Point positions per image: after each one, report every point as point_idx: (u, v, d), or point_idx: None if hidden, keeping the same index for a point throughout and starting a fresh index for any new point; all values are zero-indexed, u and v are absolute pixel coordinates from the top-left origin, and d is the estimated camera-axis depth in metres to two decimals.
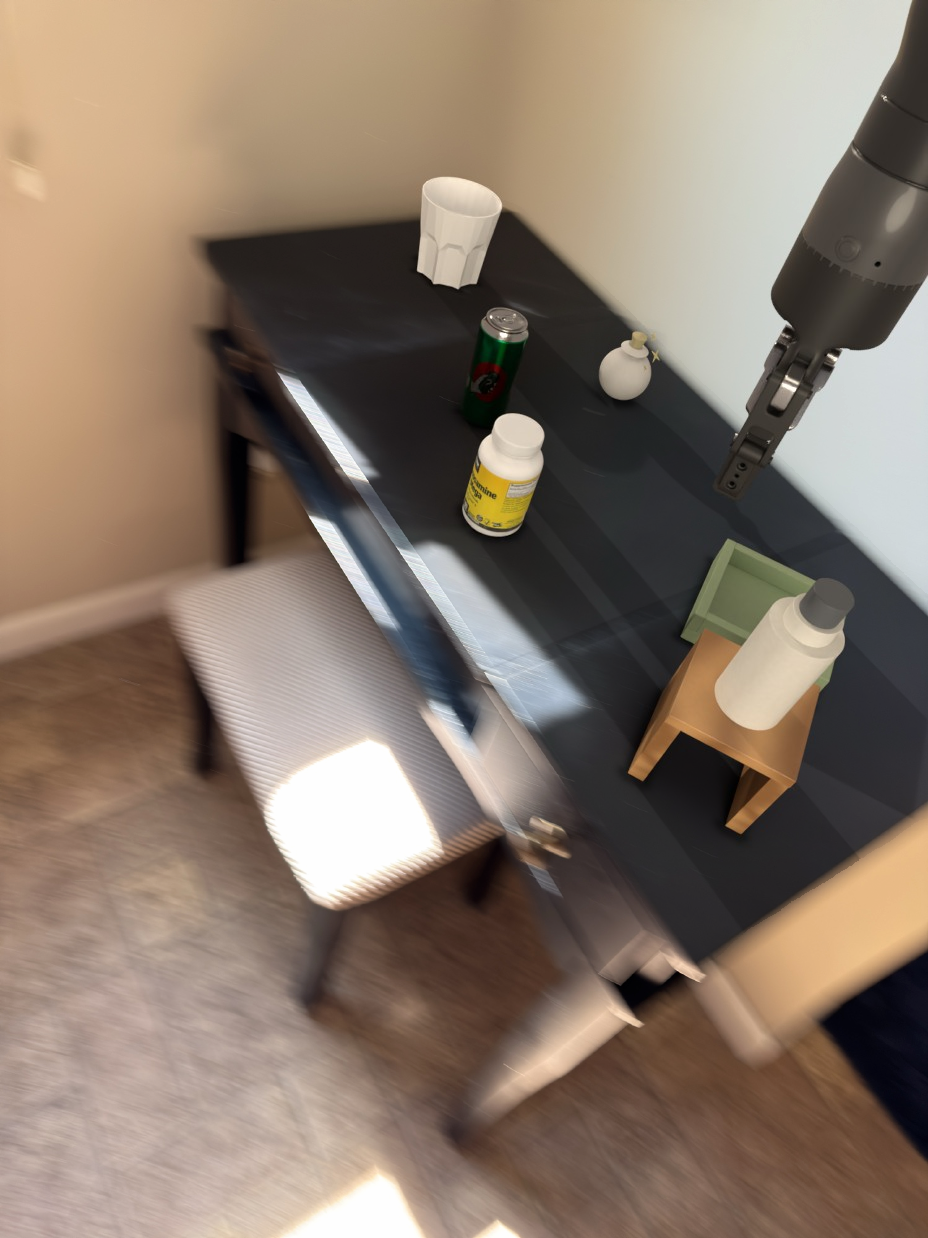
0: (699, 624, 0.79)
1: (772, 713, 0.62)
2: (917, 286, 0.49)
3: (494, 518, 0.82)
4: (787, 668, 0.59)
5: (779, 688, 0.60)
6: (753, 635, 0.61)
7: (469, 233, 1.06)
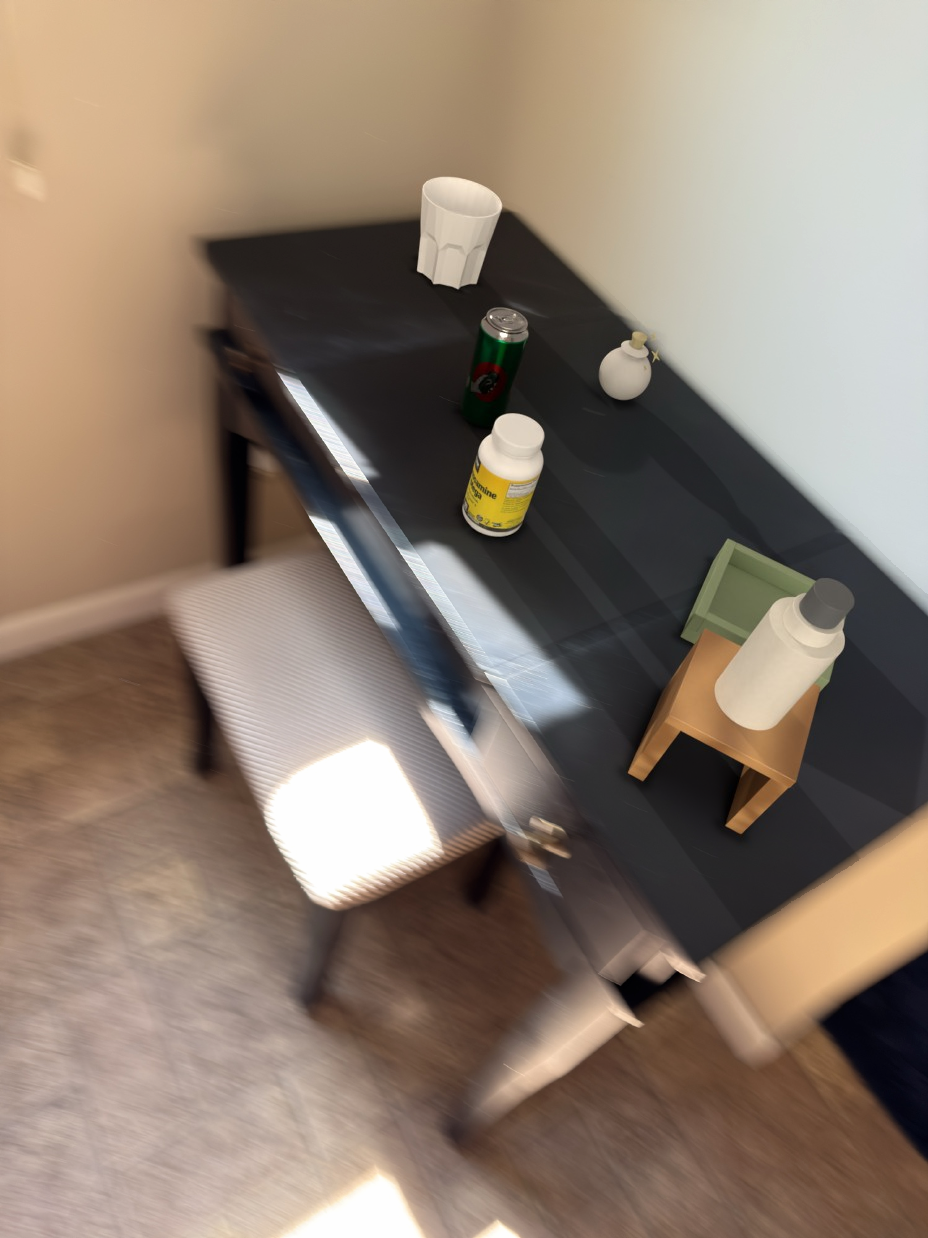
0: (699, 624, 0.79)
1: (772, 713, 0.62)
2: None
3: (494, 518, 0.82)
4: (787, 668, 0.59)
5: (779, 688, 0.60)
6: (753, 635, 0.61)
7: (469, 233, 1.06)
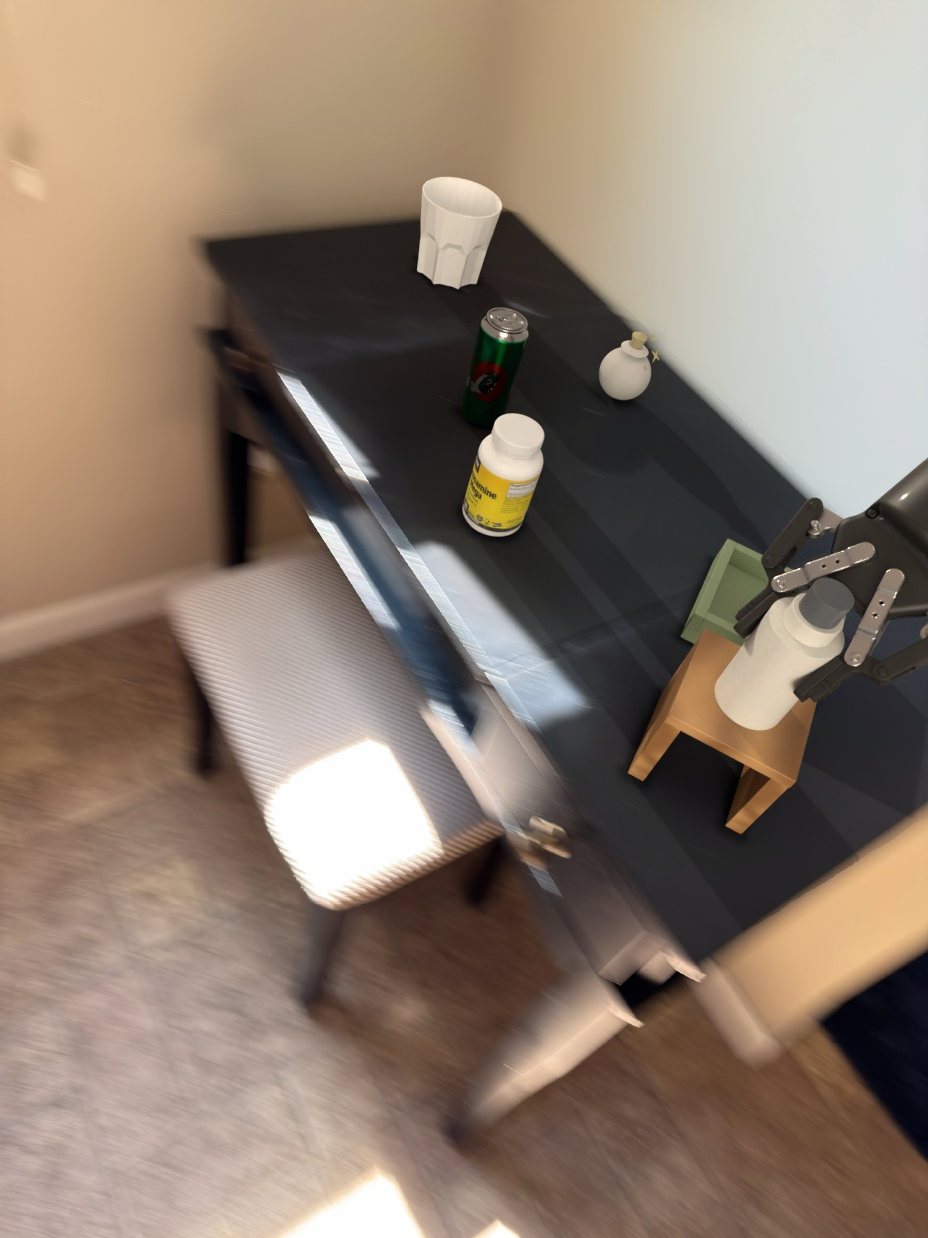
0: (699, 624, 0.79)
1: (772, 713, 0.62)
2: None
3: (494, 518, 0.82)
4: (787, 668, 0.59)
5: (779, 688, 0.60)
6: (753, 635, 0.61)
7: (469, 233, 1.06)
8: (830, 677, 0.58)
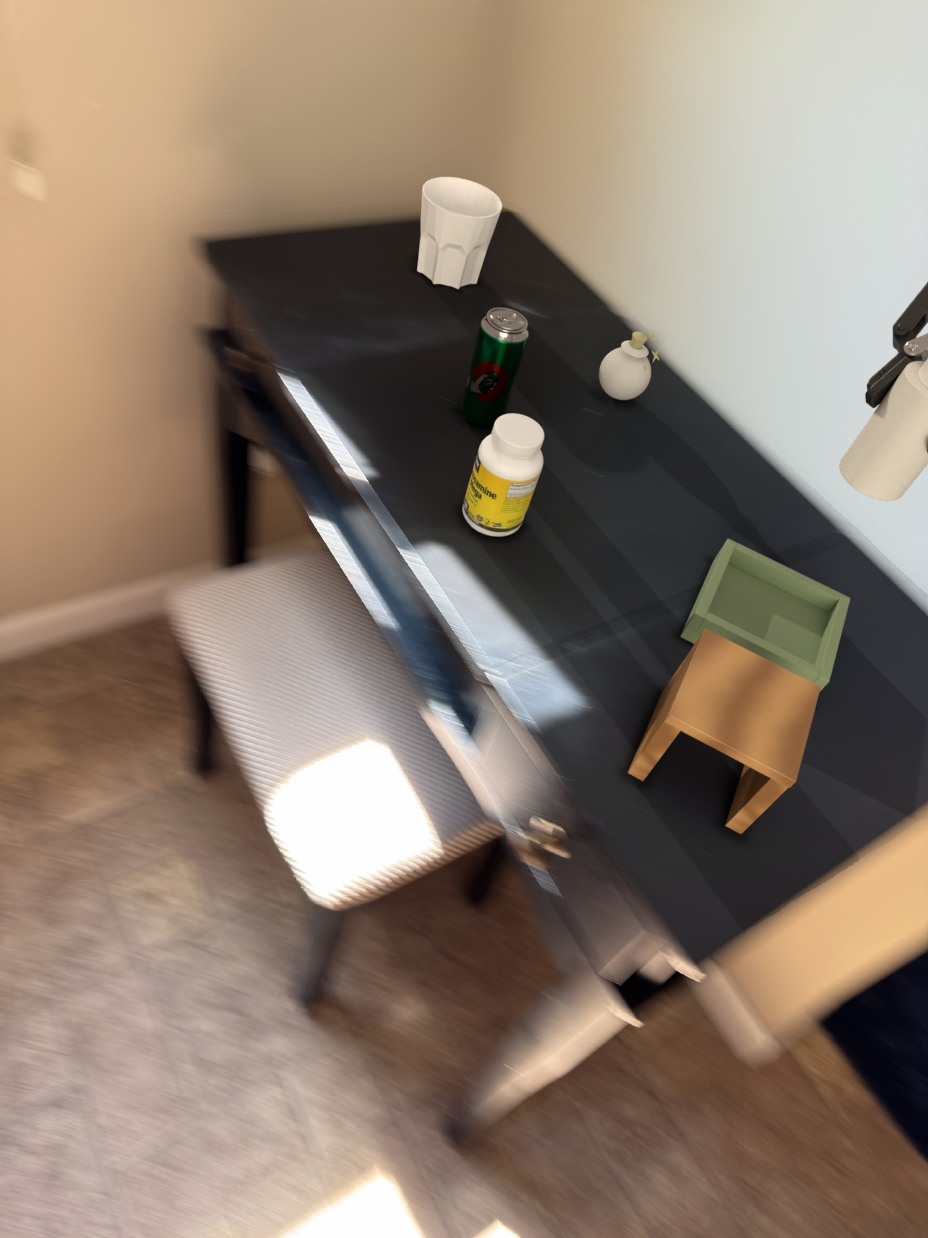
0: (699, 624, 0.79)
1: (900, 478, 0.65)
2: None
3: (494, 518, 0.82)
4: (923, 421, 0.61)
5: (912, 446, 0.63)
6: (885, 399, 0.64)
7: (469, 233, 1.06)
8: None
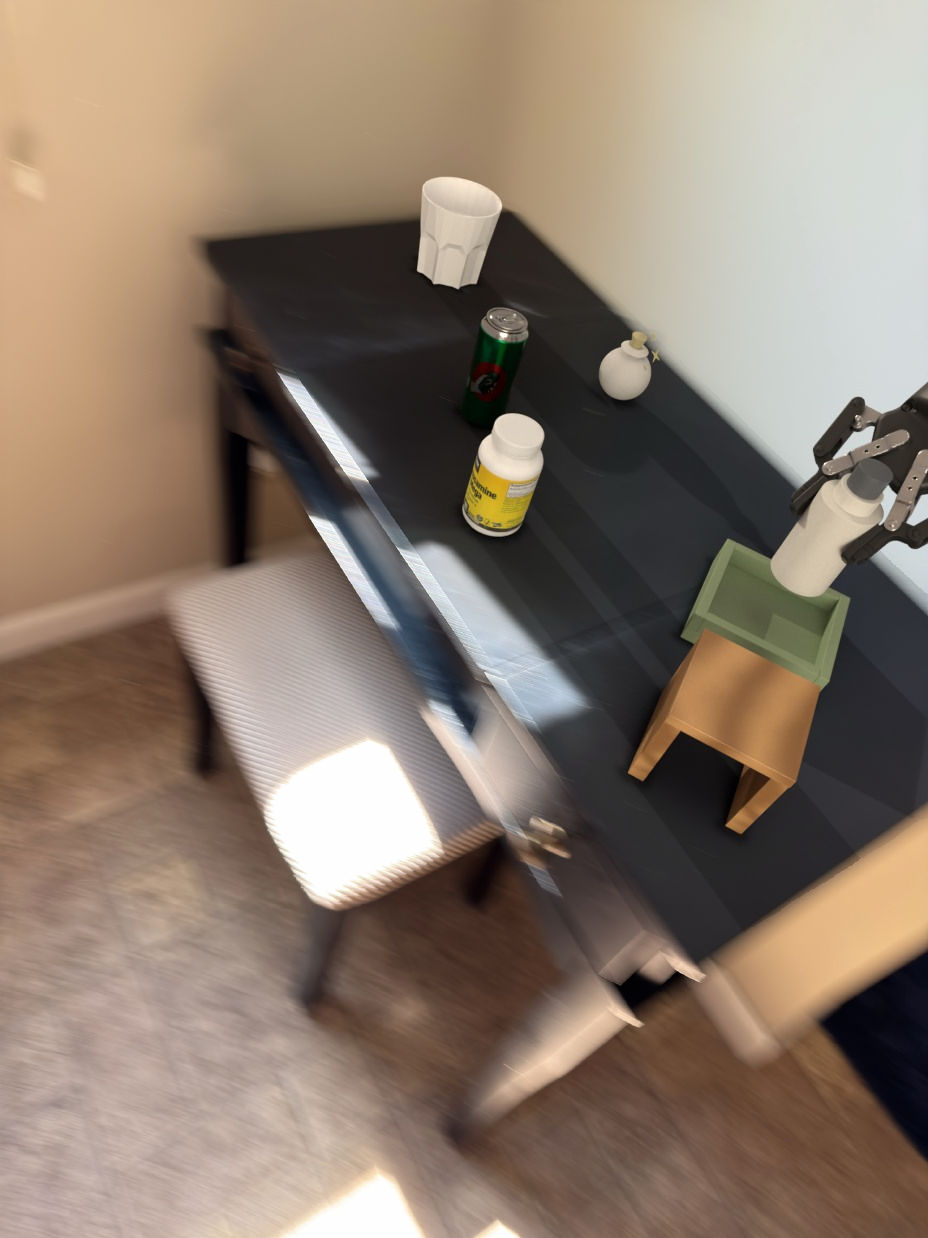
0: (699, 624, 0.79)
1: (821, 579, 0.75)
2: None
3: (494, 518, 0.82)
4: (836, 534, 0.71)
5: (828, 554, 0.72)
6: (806, 511, 0.73)
7: (469, 233, 1.06)
8: (872, 541, 0.70)
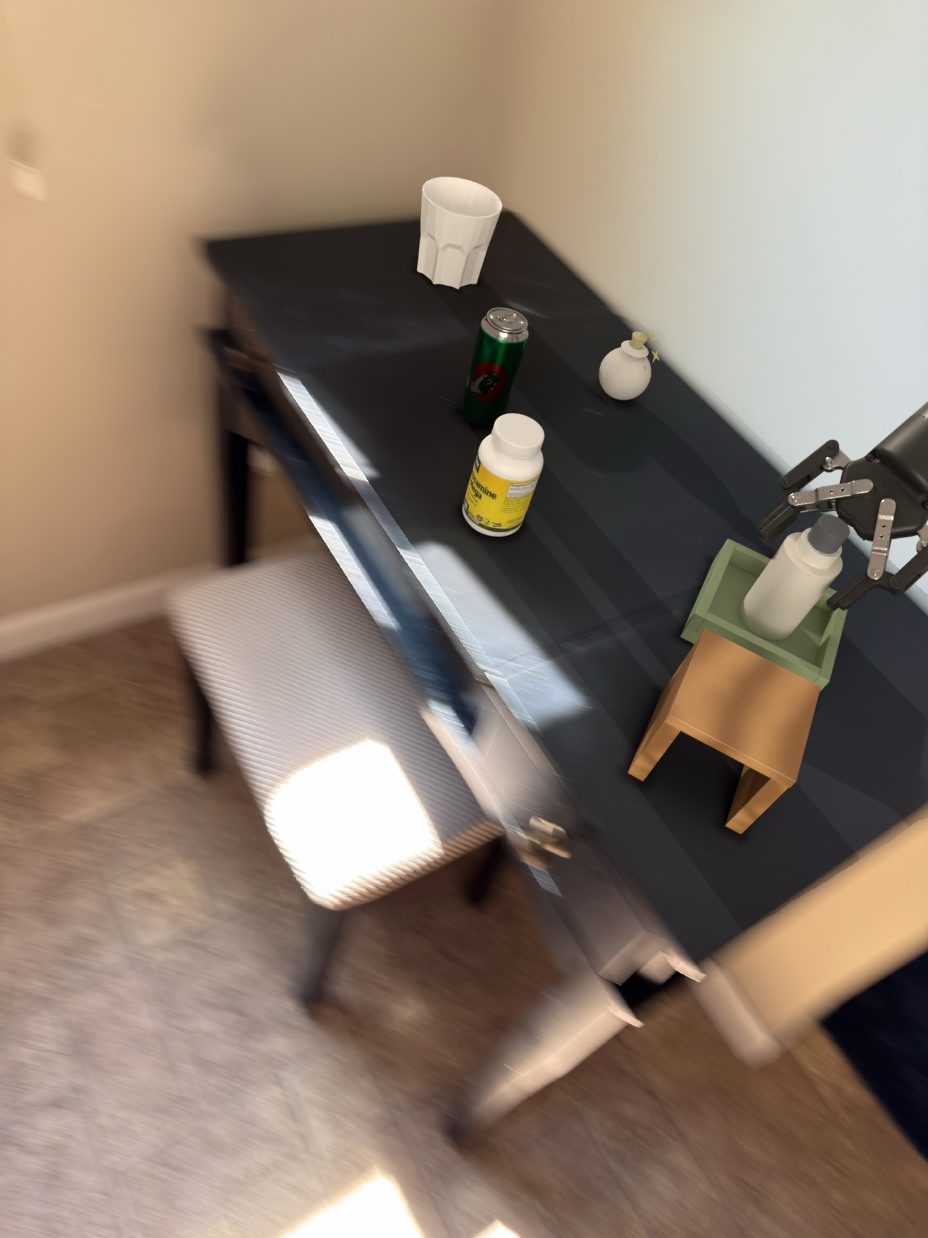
0: (699, 624, 0.79)
1: (785, 624, 0.79)
2: None
3: (494, 518, 0.82)
4: (798, 585, 0.76)
5: (791, 603, 0.77)
6: (771, 562, 0.78)
7: (469, 233, 1.06)
8: (856, 589, 0.74)
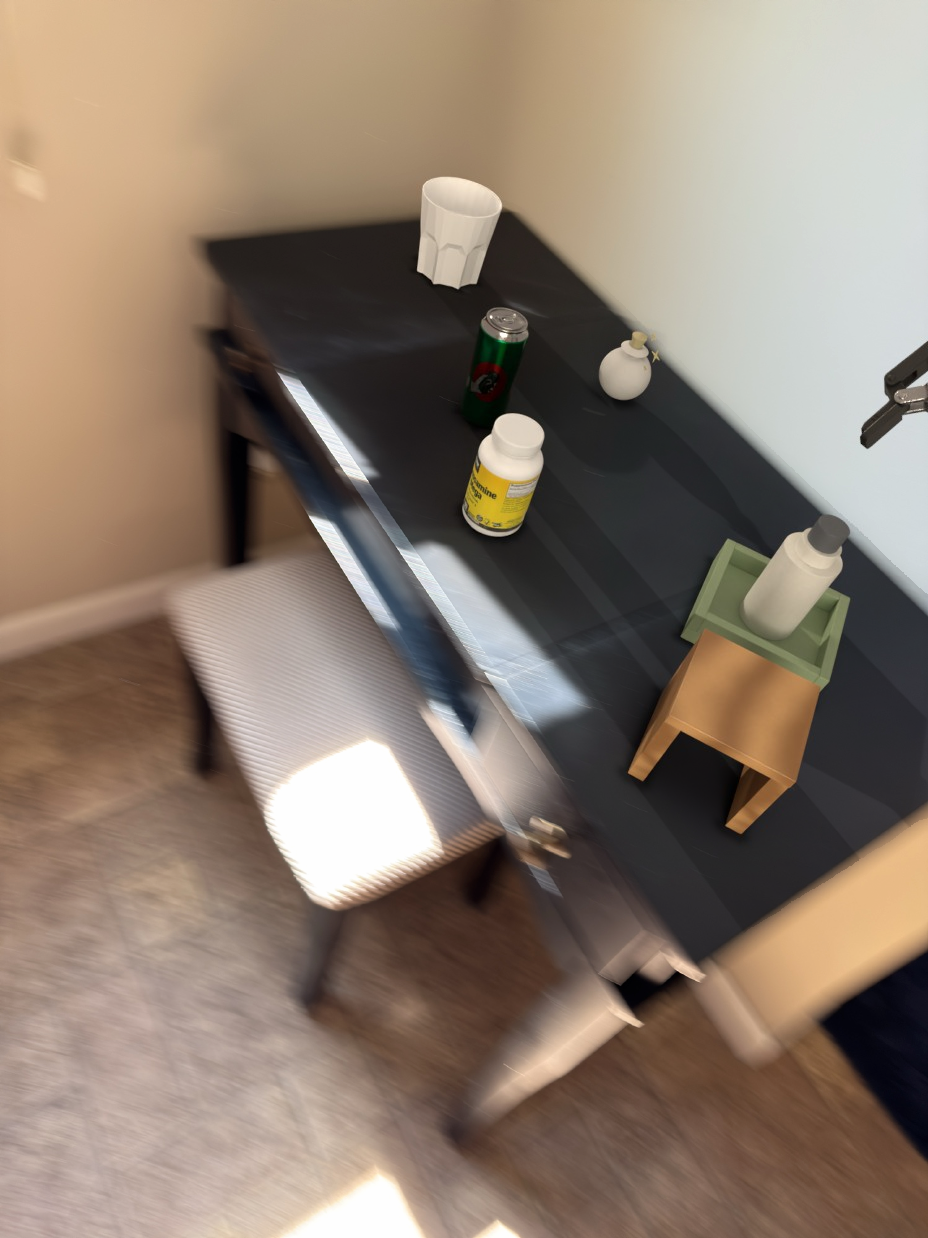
0: (699, 624, 0.79)
1: (785, 624, 0.79)
2: None
3: (494, 518, 0.82)
4: (798, 585, 0.76)
5: (791, 603, 0.77)
6: (771, 562, 0.78)
7: (469, 233, 1.06)
8: None
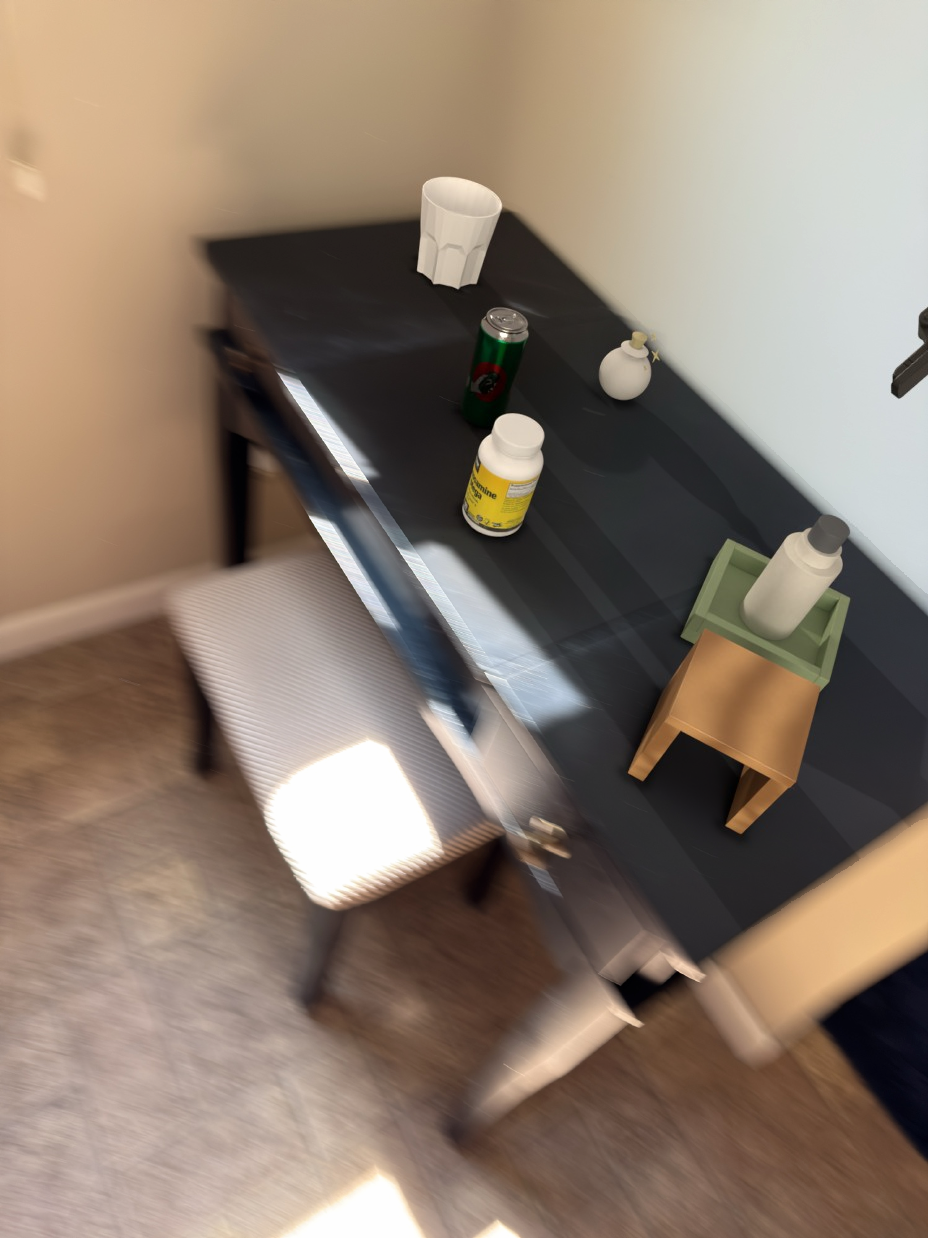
0: (699, 624, 0.79)
1: (785, 624, 0.79)
2: None
3: (494, 518, 0.82)
4: (798, 585, 0.76)
5: (791, 603, 0.77)
6: (771, 562, 0.78)
7: (469, 233, 1.06)
8: None
